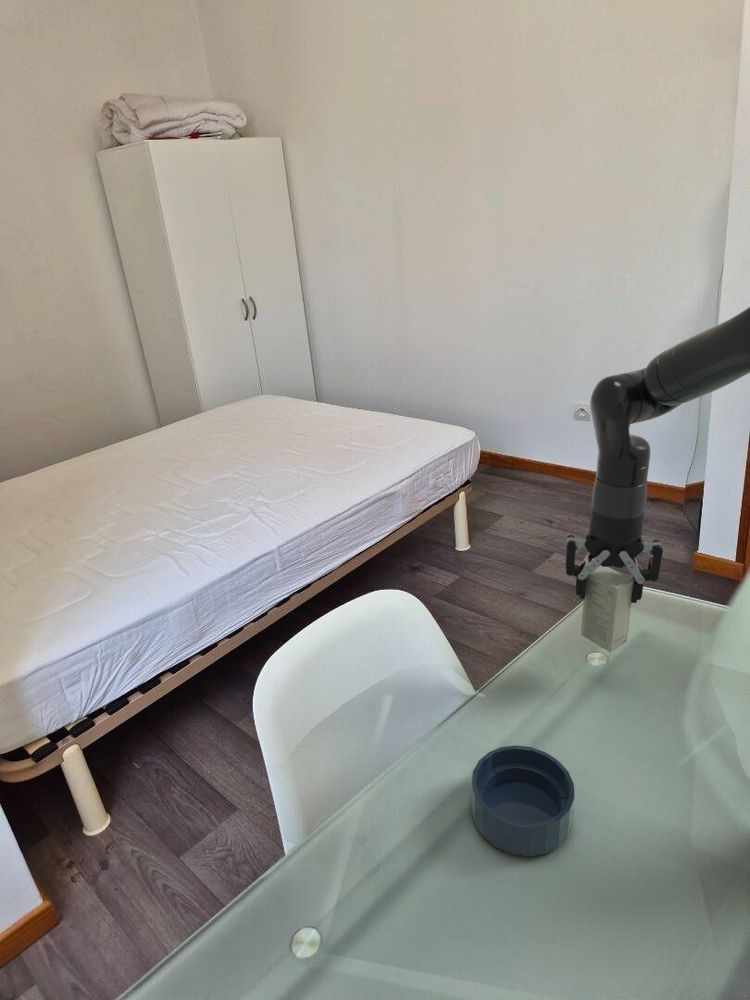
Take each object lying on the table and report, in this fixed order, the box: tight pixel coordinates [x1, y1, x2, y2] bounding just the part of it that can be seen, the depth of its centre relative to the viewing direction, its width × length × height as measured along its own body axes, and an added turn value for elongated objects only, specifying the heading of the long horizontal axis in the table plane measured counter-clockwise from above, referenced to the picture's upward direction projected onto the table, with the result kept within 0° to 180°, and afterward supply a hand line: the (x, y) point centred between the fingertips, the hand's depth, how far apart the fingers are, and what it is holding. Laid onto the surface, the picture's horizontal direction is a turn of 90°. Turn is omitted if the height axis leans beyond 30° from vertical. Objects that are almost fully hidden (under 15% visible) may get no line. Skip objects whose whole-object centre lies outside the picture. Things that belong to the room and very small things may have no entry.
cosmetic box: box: [580, 565, 634, 653], centre depth 109 cm, size 6×4×12 cm
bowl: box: [470, 745, 575, 857], centre depth 92 cm, size 13×13×6 cm
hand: (607, 598), depth 108 cm, fingers closed on cosmetic box, 7 cm apart
